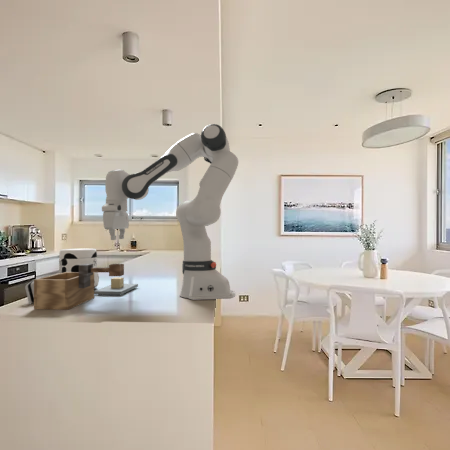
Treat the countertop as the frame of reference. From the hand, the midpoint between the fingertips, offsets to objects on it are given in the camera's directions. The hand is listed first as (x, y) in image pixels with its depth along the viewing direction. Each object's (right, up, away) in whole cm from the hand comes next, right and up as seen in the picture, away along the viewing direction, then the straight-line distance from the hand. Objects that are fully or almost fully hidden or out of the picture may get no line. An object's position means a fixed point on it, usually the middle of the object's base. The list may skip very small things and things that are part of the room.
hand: (117, 239), depth 153 cm
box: (-10, -22, -23) cm, 34 cm away
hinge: (-23, -23, -16) cm, 36 cm away
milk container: (-19, -23, +4) cm, 30 cm away
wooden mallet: (+4, -12, -24) cm, 27 cm away
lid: (0, -22, 0) cm, 22 cm away
